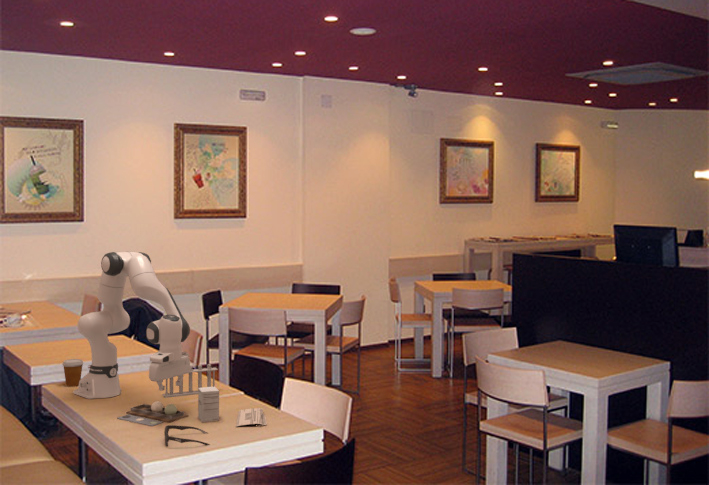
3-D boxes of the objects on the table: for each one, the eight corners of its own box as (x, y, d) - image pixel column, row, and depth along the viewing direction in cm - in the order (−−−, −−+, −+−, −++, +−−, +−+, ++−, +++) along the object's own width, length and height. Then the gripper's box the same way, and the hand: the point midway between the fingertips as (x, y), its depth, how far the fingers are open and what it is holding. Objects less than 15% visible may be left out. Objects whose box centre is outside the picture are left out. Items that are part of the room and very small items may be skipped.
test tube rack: (164, 397, 323) (164, 369, 323) (162, 395, 327) (162, 367, 327) (217, 392, 334) (218, 364, 334) (215, 390, 338) (215, 362, 338)
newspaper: (267, 428, 281) (266, 422, 281) (236, 432, 280) (235, 425, 280) (267, 411, 304) (266, 406, 304) (238, 415, 302) (238, 409, 302)
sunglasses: (163, 435, 269) (165, 422, 269) (207, 437, 273) (209, 425, 273) (162, 449, 253) (164, 435, 253) (209, 451, 257) (211, 438, 257)
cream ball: (148, 413, 294) (148, 401, 294) (157, 410, 299) (157, 399, 298) (157, 415, 292) (157, 403, 292) (165, 412, 296) (165, 400, 296)
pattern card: (116, 418, 289) (116, 417, 289) (128, 415, 295) (128, 413, 295) (152, 426, 279) (152, 425, 279) (163, 422, 285) (163, 421, 285)
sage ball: (161, 416, 290) (161, 404, 290) (170, 413, 295) (170, 401, 294) (170, 418, 288) (170, 406, 288) (179, 415, 292) (179, 403, 292)
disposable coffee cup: (76, 381, 351) (76, 357, 350) (87, 384, 345) (87, 360, 345) (58, 385, 343) (58, 361, 343) (69, 388, 338) (69, 363, 337)
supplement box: (197, 417, 292) (197, 387, 292) (215, 415, 295) (215, 386, 295) (201, 422, 286) (201, 391, 285) (219, 420, 288) (219, 390, 288)
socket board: (126, 413, 297) (126, 408, 297) (146, 407, 306) (146, 402, 306) (169, 422, 284) (169, 417, 284) (188, 416, 294) (188, 411, 294)
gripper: (182, 349, 301) (182, 381, 302) (146, 357, 283) (146, 391, 284) (194, 351, 298) (193, 383, 298) (158, 360, 280) (157, 394, 281)
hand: (170, 387), depth 291 cm, fingers open, 8 cm apart
